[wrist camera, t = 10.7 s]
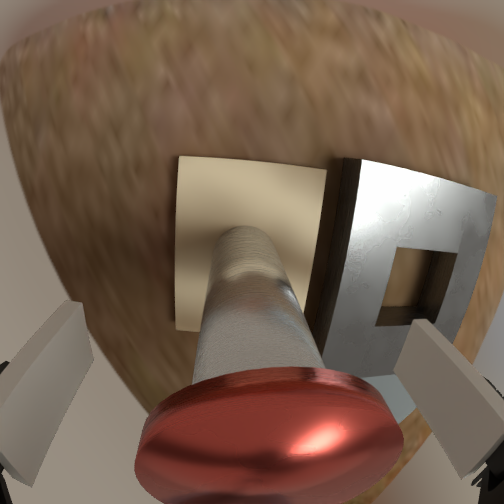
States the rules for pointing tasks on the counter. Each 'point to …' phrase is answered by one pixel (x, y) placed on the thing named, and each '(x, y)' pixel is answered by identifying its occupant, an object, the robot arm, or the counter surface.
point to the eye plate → (381, 259)
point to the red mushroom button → (263, 401)
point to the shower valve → (393, 395)
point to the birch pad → (242, 221)
